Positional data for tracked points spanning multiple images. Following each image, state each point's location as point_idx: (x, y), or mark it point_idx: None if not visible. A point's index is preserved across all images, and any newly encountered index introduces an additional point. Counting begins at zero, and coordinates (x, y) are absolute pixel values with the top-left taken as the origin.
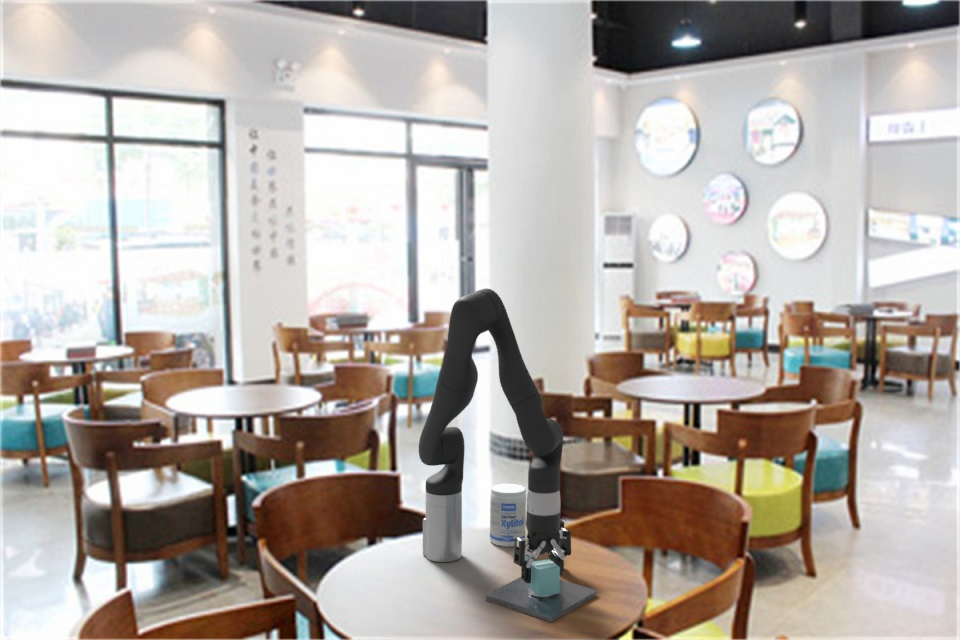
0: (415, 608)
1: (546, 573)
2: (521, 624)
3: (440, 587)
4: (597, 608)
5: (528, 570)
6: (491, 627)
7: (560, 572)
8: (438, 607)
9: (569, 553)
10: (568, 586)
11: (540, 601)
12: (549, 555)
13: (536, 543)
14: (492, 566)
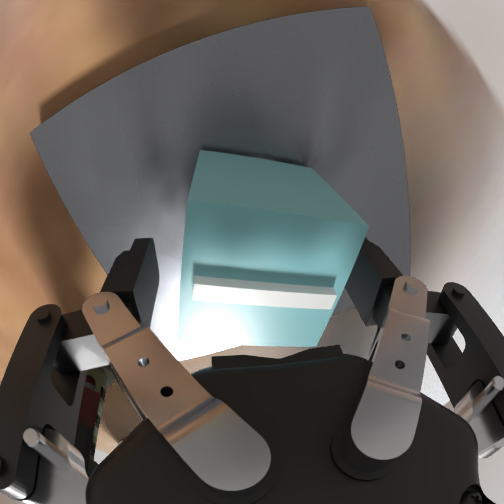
0: (494, 294)
1: (302, 203)
2: (442, 77)
3: None
4: (105, 17)
5: (390, 268)
6: (494, 127)
7: (141, 244)
8: (478, 283)
9: (43, 312)
10: (110, 215)
11: (316, 142)
12: (100, 392)
13: (422, 428)
14: None
